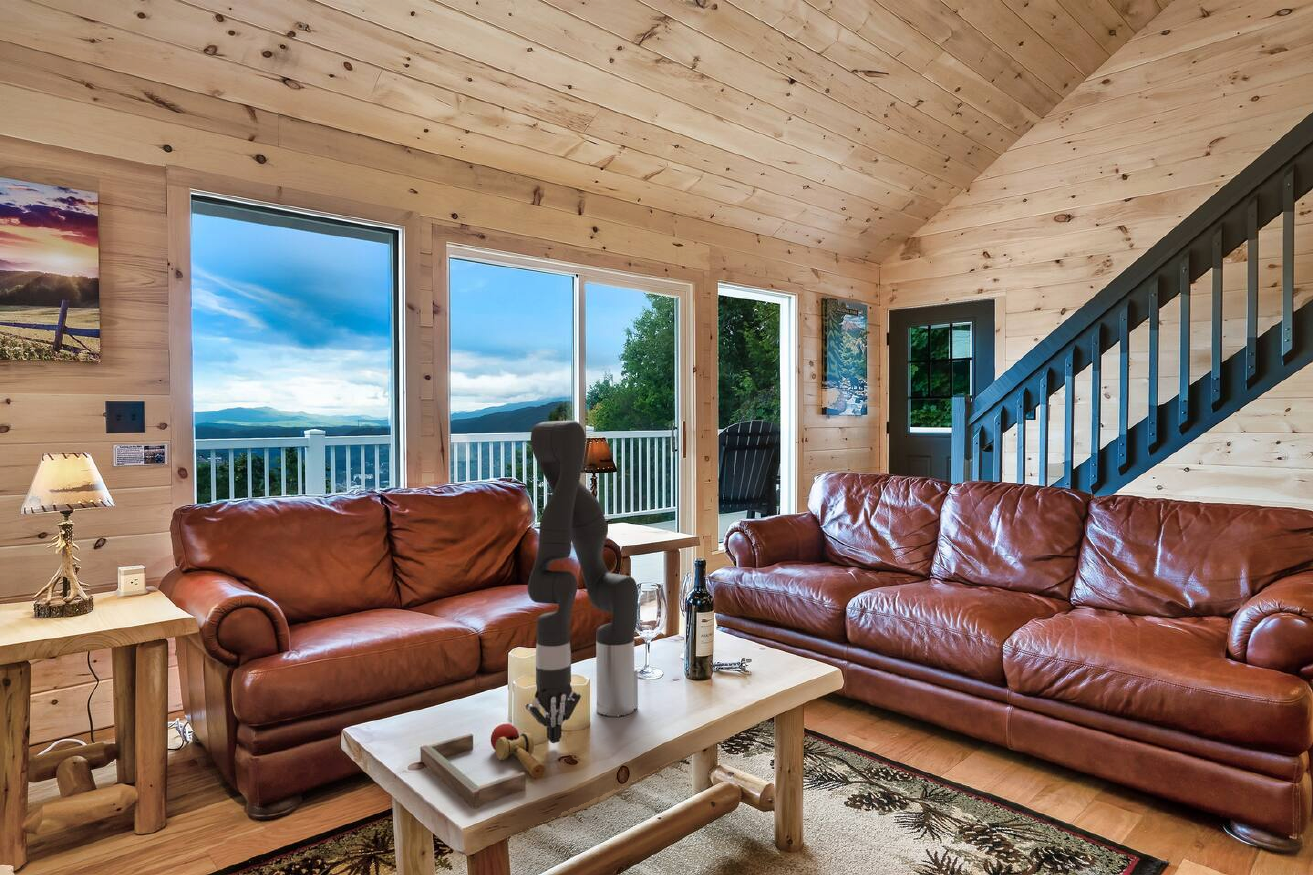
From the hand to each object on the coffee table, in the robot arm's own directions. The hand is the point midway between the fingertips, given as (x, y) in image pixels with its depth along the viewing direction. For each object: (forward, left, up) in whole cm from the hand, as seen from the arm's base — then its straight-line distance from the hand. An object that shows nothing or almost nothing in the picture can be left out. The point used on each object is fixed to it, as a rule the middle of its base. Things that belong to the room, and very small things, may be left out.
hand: (554, 741), depth 170 cm
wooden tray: (+19, 0, -2) cm, 19 cm away
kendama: (+9, +1, -2) cm, 9 cm away
